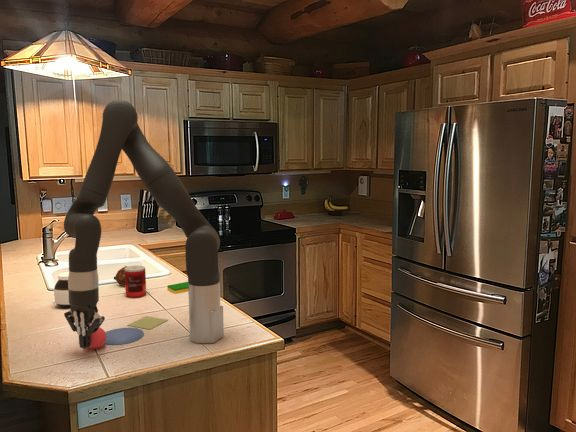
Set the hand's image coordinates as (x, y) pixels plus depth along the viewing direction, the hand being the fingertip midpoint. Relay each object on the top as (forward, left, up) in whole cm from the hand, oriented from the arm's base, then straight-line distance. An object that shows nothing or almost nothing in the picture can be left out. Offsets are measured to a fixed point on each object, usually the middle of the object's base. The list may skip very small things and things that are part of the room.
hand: (84, 347), depth 128 cm
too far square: (0, -26, -2) cm, 26 cm away
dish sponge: (+11, -63, -3) cm, 63 cm away
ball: (0, -4, +1) cm, 4 cm away
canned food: (+24, -48, -2) cm, 53 cm away
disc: (0, -14, -2) cm, 14 cm away
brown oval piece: (+38, -58, -2) cm, 69 cm away
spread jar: (+40, -30, -2) cm, 49 cm away
